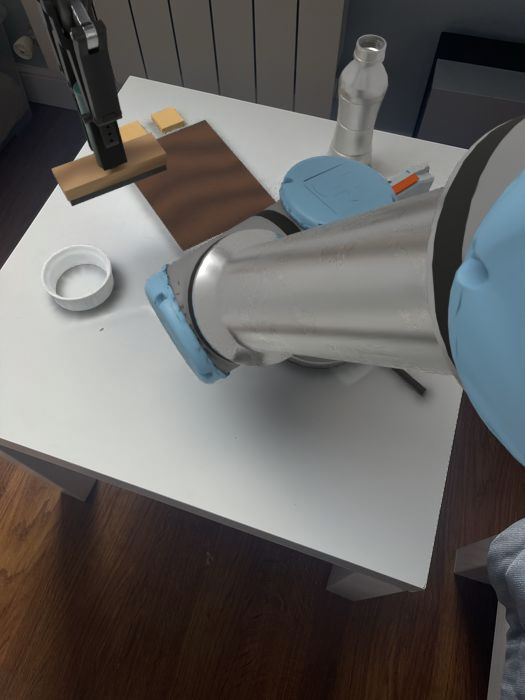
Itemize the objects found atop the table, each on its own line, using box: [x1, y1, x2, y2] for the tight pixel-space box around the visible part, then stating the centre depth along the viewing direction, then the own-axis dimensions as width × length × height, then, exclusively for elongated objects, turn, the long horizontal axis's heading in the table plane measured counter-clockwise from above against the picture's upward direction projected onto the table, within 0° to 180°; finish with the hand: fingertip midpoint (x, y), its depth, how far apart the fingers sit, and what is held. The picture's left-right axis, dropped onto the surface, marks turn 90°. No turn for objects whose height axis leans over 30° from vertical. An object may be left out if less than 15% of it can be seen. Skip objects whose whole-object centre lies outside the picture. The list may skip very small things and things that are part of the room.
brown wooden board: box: [133, 119, 277, 252], centre depth 81 cm, size 22×16×1 cm
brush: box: [51, 82, 168, 207], centre depth 57 cm, size 4×12×12 cm, turn 121°
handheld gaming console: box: [386, 162, 436, 201], centre depth 75 cm, size 14×3×8 cm, turn 128°
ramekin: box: [40, 243, 115, 312], centre depth 70 cm, size 9×9×4 cm
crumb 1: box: [118, 120, 148, 143], centre depth 85 cm, size 4×4×2 cm
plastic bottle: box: [327, 34, 389, 166], centre depth 75 cm, size 6×7×20 cm
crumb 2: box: [150, 106, 186, 134], centre depth 87 cm, size 4×4×2 cm
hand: (108, 154), depth 59 cm, fingers closed on brush, 3 cm apart
